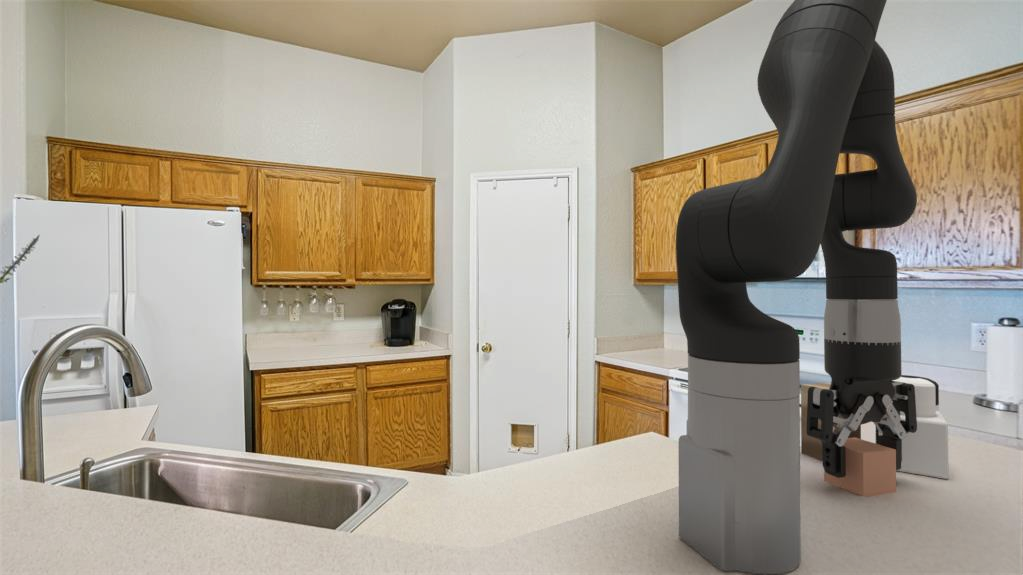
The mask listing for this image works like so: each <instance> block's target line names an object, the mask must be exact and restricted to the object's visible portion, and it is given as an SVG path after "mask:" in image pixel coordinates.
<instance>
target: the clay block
mask: <svg viewBox="0 0 1023 575" xmlns="http://www.w3.org/2000/svg"><path fill="white" fill-rule="evenodd" d="M843 446H845V453H846V476H845V477H841V478H837V477H835V476H832V475H830V474H827V473H826V472H825V469H824V468H823V470H824V472H823V473H824V474H823V476H824V477H823V478H824V480H823V481H825V482H827V483H829V484H832V485H835V486H837V487H839V488H841V489H844V490H846V491H849V492H851V493H853V494H856V495H858V496H860V497H871V496H879V495H885V494H892V493H896V492H897V471H896V450H895V449H892V448H889V447H885V446H882V445H879V444H876V442H875V443H874V442H871V441H868V440H864V439H862V438H861V439H859V438H847V440H846V442H845V443H844V445H843Z"/></svg>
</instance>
